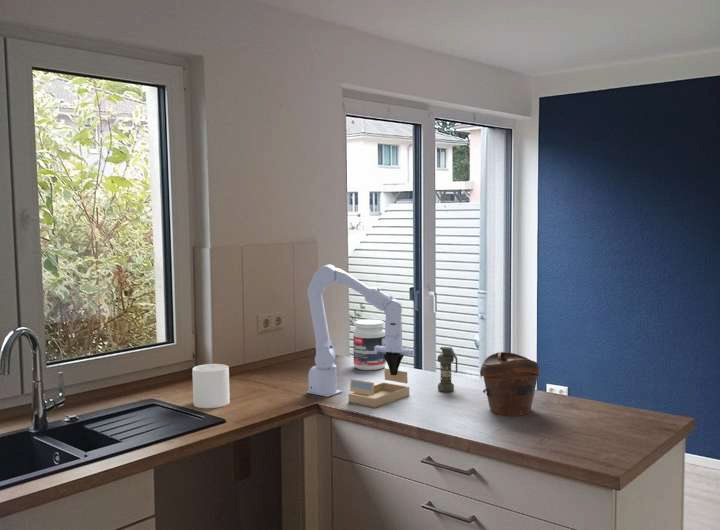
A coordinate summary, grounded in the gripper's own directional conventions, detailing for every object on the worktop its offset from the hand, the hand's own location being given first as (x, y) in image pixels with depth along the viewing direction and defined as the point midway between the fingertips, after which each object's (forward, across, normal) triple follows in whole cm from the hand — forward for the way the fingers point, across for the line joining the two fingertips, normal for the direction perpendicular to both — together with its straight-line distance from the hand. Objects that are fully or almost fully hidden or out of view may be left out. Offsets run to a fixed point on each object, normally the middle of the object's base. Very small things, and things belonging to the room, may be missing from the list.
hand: (393, 374), depth 246 cm
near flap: (+1, -1, -17) cm, 17 cm away
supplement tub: (+7, -30, +29) cm, 42 cm away
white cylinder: (+7, -44, -42) cm, 61 cm away
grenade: (+7, +13, +14) cm, 20 cm away
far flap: (+1, 0, +1) cm, 1 cm away
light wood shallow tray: (+7, -1, -8) cm, 11 cm away
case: (+7, +41, +3) cm, 41 cm away
